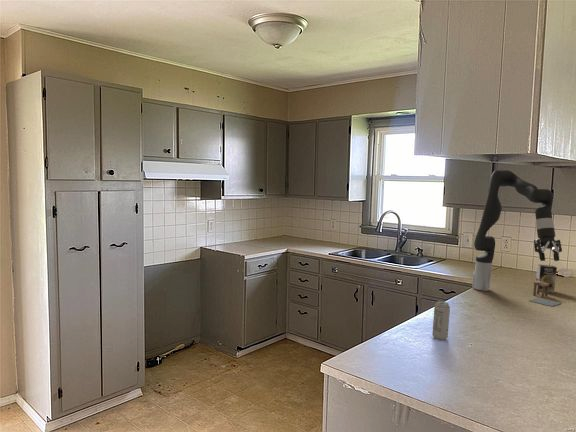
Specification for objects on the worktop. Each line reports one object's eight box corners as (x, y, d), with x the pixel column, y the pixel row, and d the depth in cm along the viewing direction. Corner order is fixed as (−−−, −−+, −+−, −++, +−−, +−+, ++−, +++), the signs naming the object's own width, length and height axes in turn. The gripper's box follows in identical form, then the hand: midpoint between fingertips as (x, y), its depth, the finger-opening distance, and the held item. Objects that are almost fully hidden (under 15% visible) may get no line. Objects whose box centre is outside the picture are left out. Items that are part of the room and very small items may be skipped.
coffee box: (538, 291, 260) (540, 265, 259) (534, 288, 266) (537, 263, 265) (554, 293, 258) (557, 267, 257) (550, 290, 264) (553, 265, 263)
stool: (532, 295, 251) (533, 282, 250) (537, 293, 254) (538, 280, 254) (543, 297, 246) (544, 284, 245) (548, 296, 250) (549, 283, 249)
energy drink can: (450, 340, 173) (453, 305, 171) (437, 341, 171) (439, 305, 170) (442, 335, 178) (445, 300, 177) (429, 335, 177) (432, 300, 176)
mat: (528, 301, 238) (528, 300, 238) (538, 298, 245) (538, 297, 245) (551, 306, 228) (551, 306, 228) (561, 303, 235) (561, 303, 235)
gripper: (550, 229, 214) (554, 261, 210) (527, 228, 210) (531, 261, 207) (563, 227, 207) (568, 260, 203) (540, 226, 203) (544, 260, 200)
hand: (549, 260), depth 205 cm, fingers open, 8 cm apart
